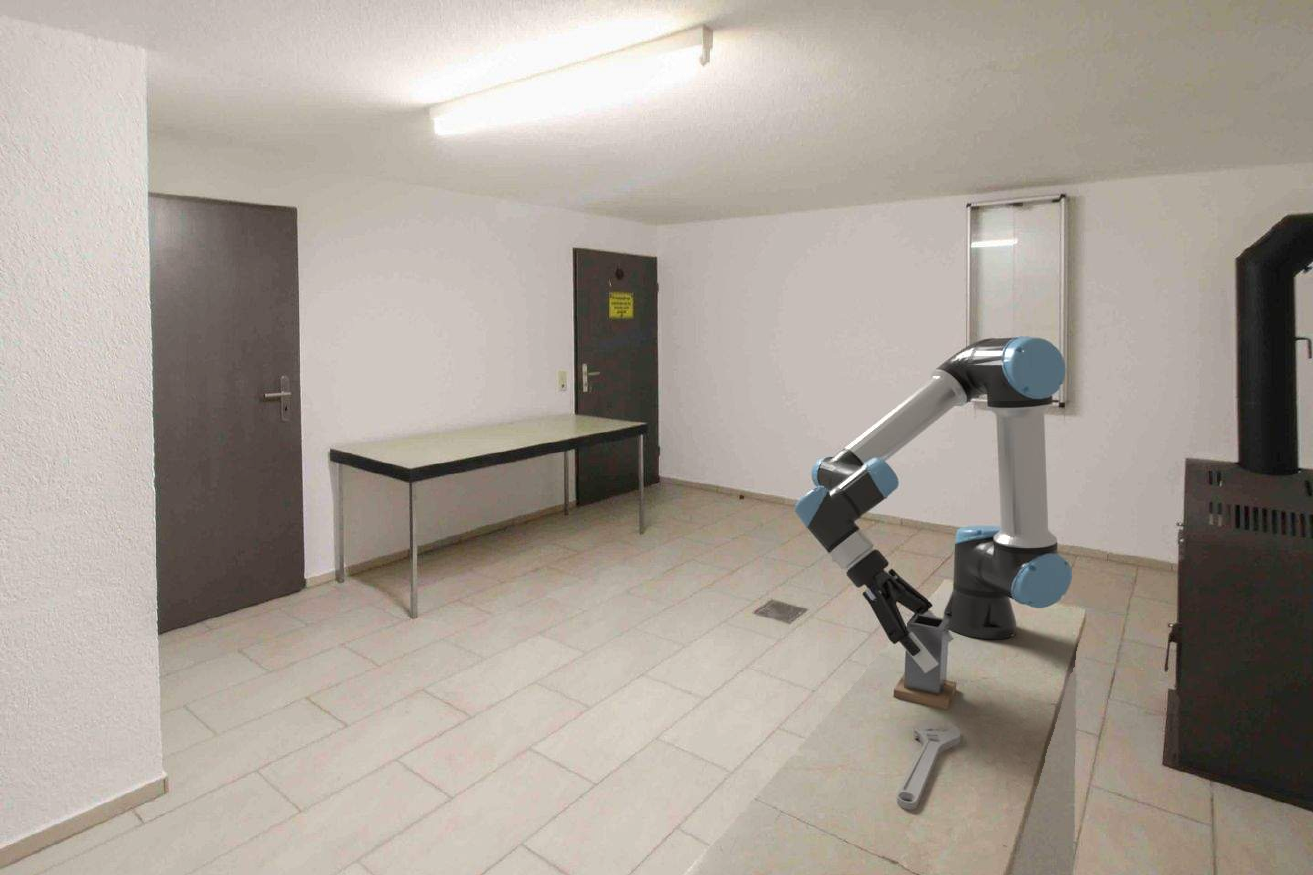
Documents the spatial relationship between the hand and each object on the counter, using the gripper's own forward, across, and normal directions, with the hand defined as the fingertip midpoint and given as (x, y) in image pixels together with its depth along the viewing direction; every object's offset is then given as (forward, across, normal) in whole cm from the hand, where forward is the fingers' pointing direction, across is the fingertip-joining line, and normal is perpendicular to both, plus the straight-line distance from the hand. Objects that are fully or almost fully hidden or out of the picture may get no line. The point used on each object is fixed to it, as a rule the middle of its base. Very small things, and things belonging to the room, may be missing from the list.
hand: (940, 655), depth 128 cm
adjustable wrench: (+8, +24, -4) cm, 26 cm away
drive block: (+4, 0, -8) cm, 9 cm away
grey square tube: (+3, 0, -6) cm, 7 cm away
